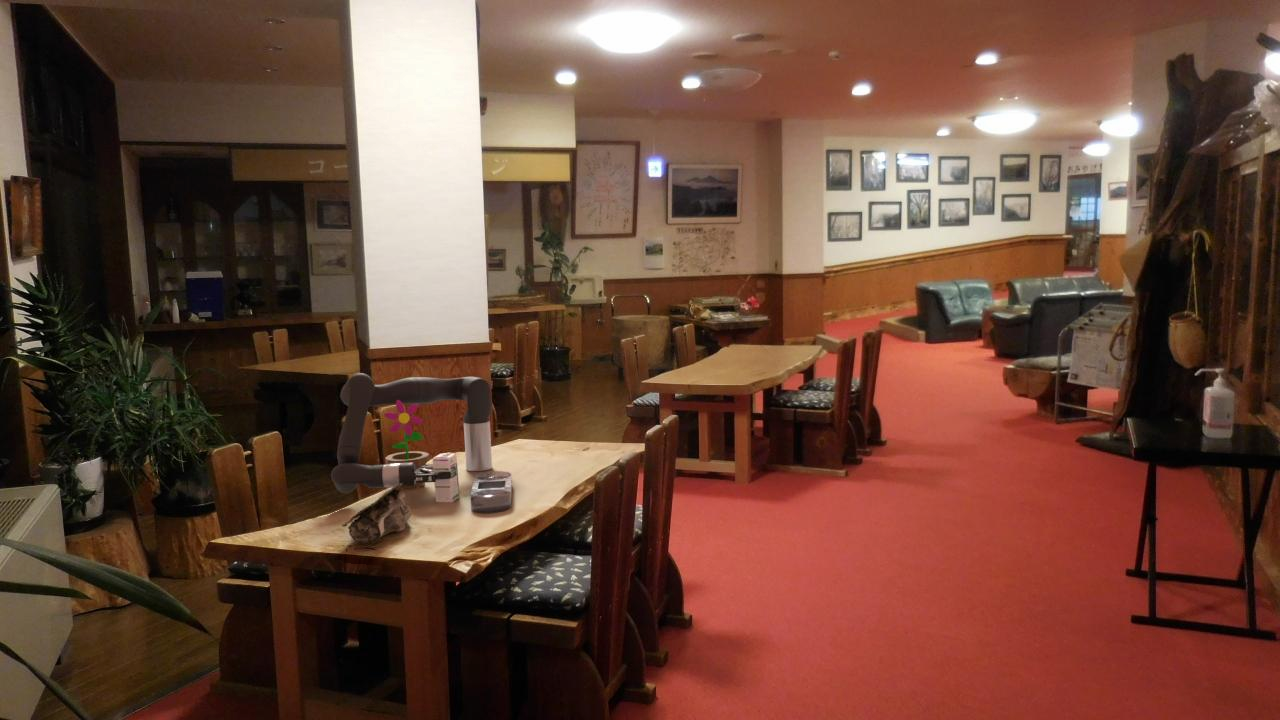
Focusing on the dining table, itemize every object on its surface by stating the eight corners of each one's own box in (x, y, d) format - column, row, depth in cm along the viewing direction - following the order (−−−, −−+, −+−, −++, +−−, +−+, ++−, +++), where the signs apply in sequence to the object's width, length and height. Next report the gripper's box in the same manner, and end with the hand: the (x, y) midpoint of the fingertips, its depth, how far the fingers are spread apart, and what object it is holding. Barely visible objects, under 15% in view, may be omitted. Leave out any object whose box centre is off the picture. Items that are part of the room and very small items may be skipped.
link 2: (474, 493, 292) (473, 481, 291) (511, 490, 293) (511, 478, 293) (469, 514, 268) (469, 501, 267) (510, 511, 269) (510, 498, 269)
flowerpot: (385, 493, 296) (379, 402, 292) (388, 482, 310) (382, 396, 306) (430, 489, 299) (425, 399, 295) (431, 478, 313) (426, 393, 309)
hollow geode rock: (360, 569, 238) (393, 530, 234) (325, 535, 238) (358, 497, 235) (406, 532, 265) (436, 497, 262) (374, 503, 266) (404, 467, 262)
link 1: (511, 500, 281) (510, 488, 281) (472, 503, 280) (471, 490, 279) (512, 481, 305) (511, 470, 304) (476, 484, 303) (475, 472, 303)
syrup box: (452, 502, 281) (450, 457, 280) (435, 502, 282) (432, 457, 281) (459, 497, 287) (457, 453, 285) (442, 497, 288) (439, 452, 286)
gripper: (395, 468, 274) (449, 465, 276) (401, 458, 288) (453, 455, 290) (396, 492, 275) (451, 489, 277) (402, 481, 289) (454, 477, 291)
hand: (452, 471), depth 284 cm, fingers open, 8 cm apart
